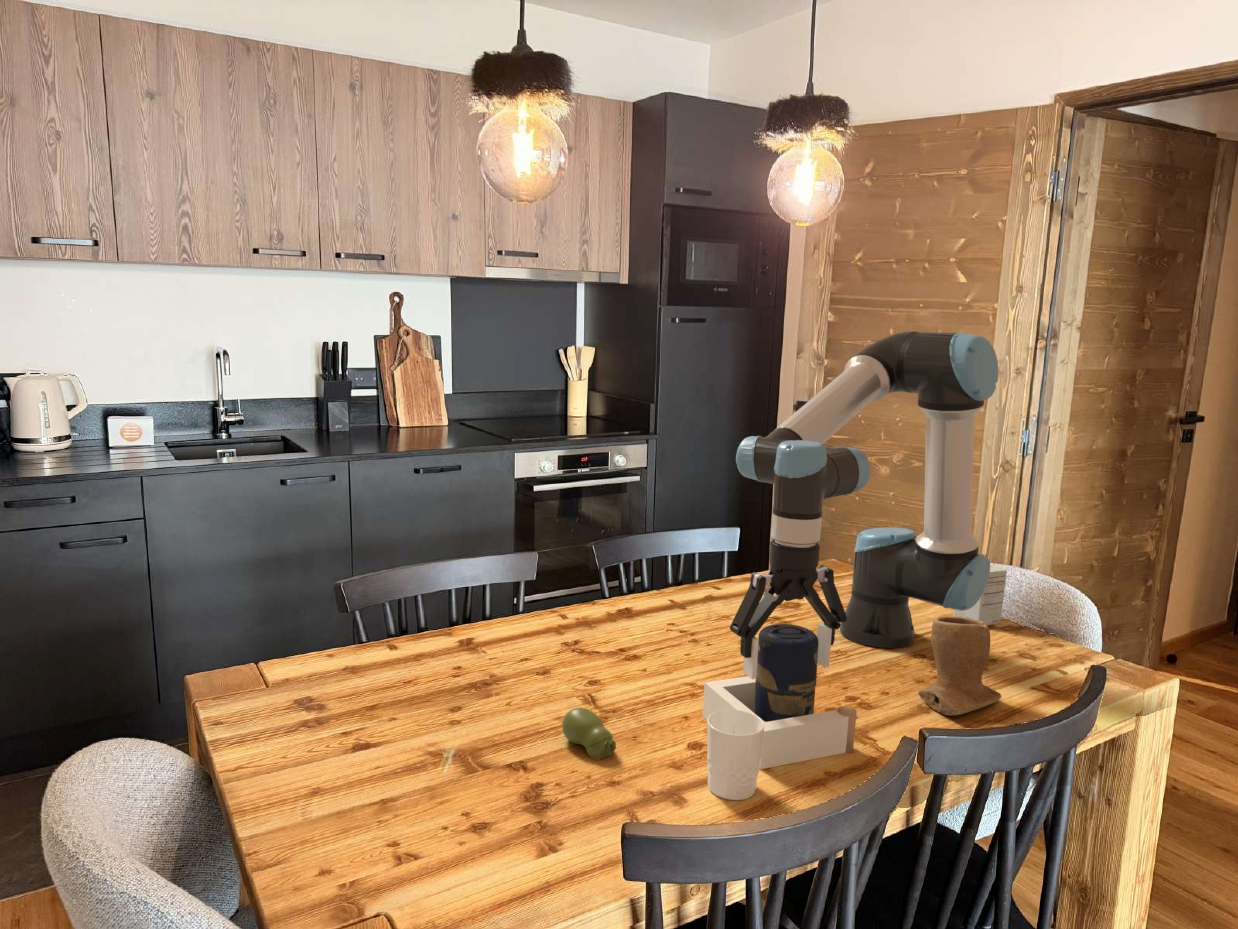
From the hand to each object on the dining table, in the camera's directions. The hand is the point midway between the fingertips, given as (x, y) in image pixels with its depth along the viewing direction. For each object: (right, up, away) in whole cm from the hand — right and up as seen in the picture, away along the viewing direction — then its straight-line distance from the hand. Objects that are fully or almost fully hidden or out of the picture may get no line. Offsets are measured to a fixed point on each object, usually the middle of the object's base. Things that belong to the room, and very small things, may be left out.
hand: (786, 670), depth 138 cm
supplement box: (+54, -3, +59) cm, 80 cm away
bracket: (-1, -10, +2) cm, 11 cm away
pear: (-31, -11, -5) cm, 33 cm away
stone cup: (+33, -10, +16) cm, 37 cm away
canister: (0, -11, +2) cm, 11 cm away
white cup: (-11, -13, -15) cm, 23 cm away
